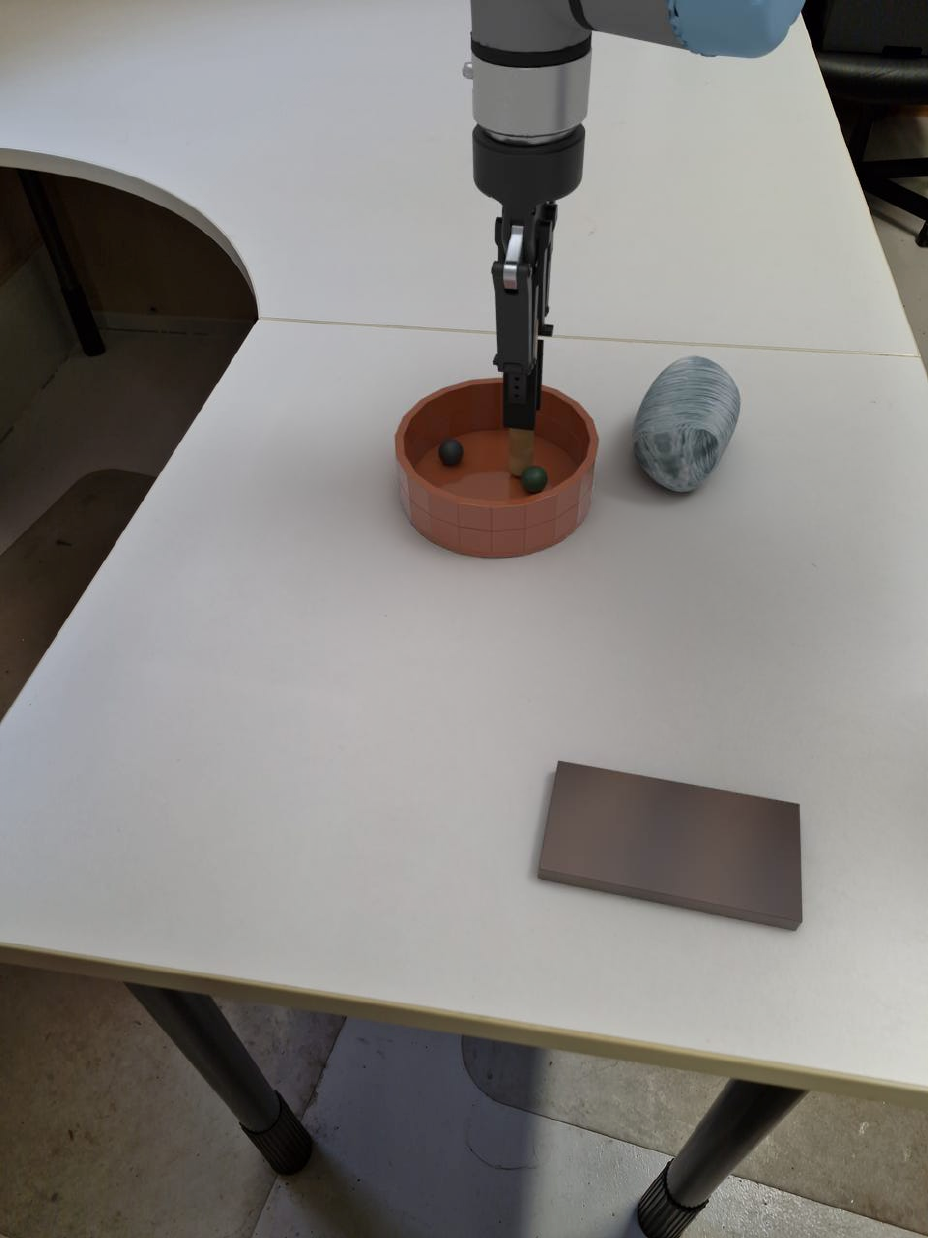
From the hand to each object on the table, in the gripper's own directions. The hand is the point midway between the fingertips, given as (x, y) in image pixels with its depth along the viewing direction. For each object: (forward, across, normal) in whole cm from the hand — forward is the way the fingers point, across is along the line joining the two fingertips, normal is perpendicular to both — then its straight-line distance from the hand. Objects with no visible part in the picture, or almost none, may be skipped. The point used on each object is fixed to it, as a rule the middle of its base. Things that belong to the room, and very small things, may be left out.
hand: (522, 415), depth 74 cm
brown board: (+7, +34, +16) cm, 38 cm away
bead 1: (+5, 0, -7) cm, 9 cm away
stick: (+6, 0, 0) cm, 6 cm away
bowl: (+7, +2, -2) cm, 8 cm away
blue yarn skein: (+7, -6, +14) cm, 17 cm away
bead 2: (+5, +2, +2) cm, 6 cm away
